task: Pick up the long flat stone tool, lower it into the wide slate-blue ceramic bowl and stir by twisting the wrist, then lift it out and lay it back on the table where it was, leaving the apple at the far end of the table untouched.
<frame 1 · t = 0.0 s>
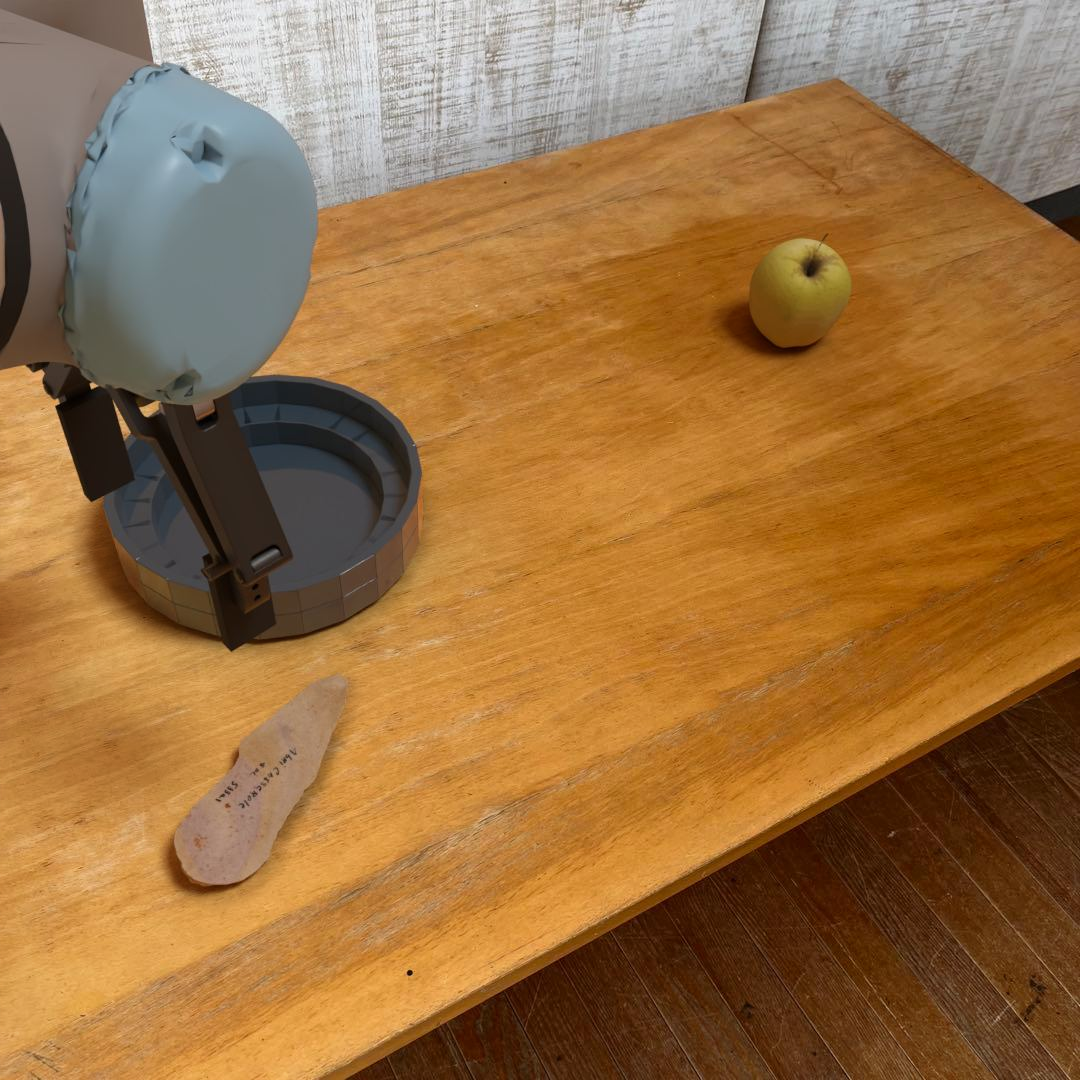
hand: (176, 557, 62), 12 cm above the table, tool pointing down, fingers open, 13 cm apart
bowl: (273, 526, 81), on the table
stone tool: (274, 782, 68), on the table
apple: (787, 336, 99), on the table
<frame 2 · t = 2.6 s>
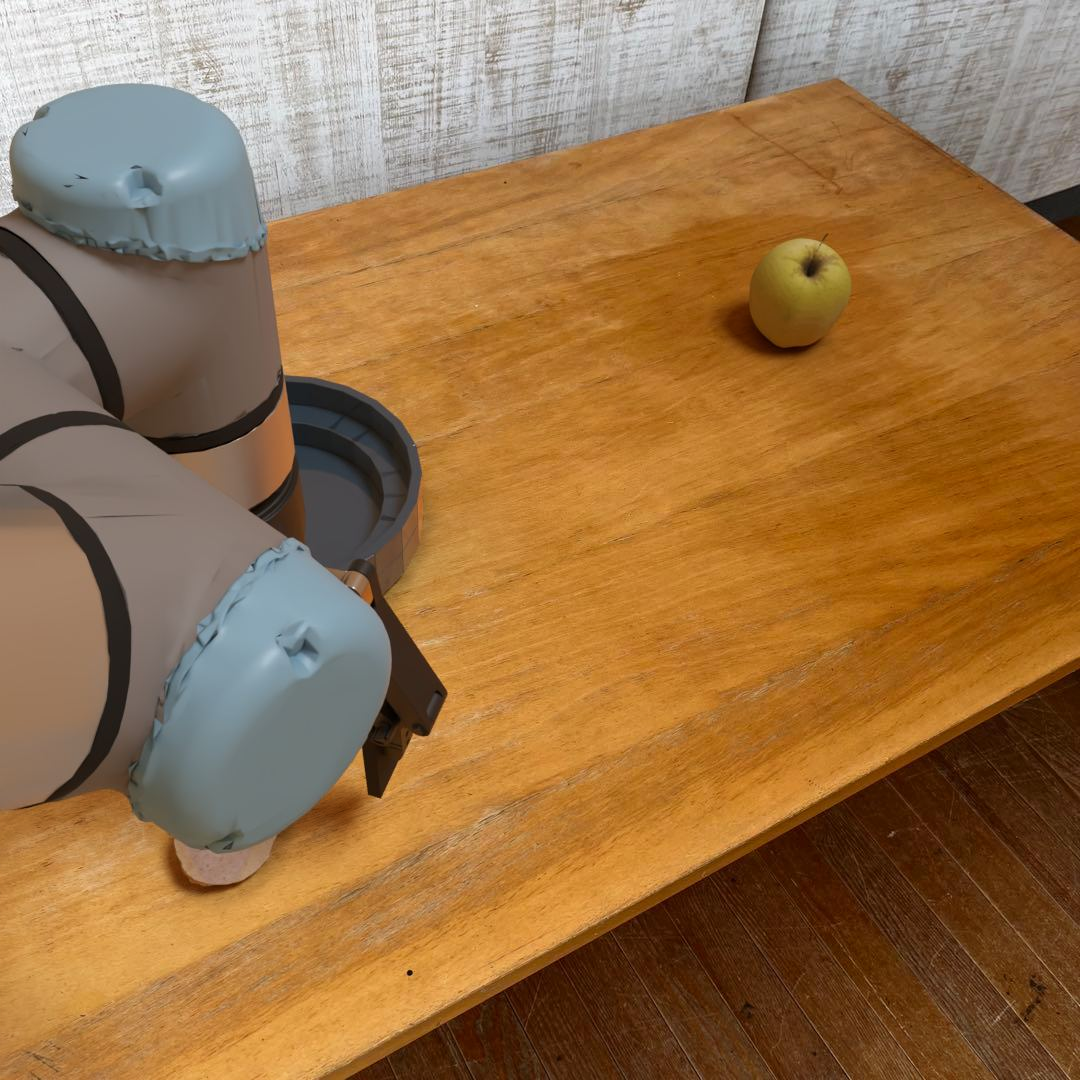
hand: (270, 740, 65), 4 cm above the table, tool pointing down, fingers open, 13 cm apart
nothing on the table moved.
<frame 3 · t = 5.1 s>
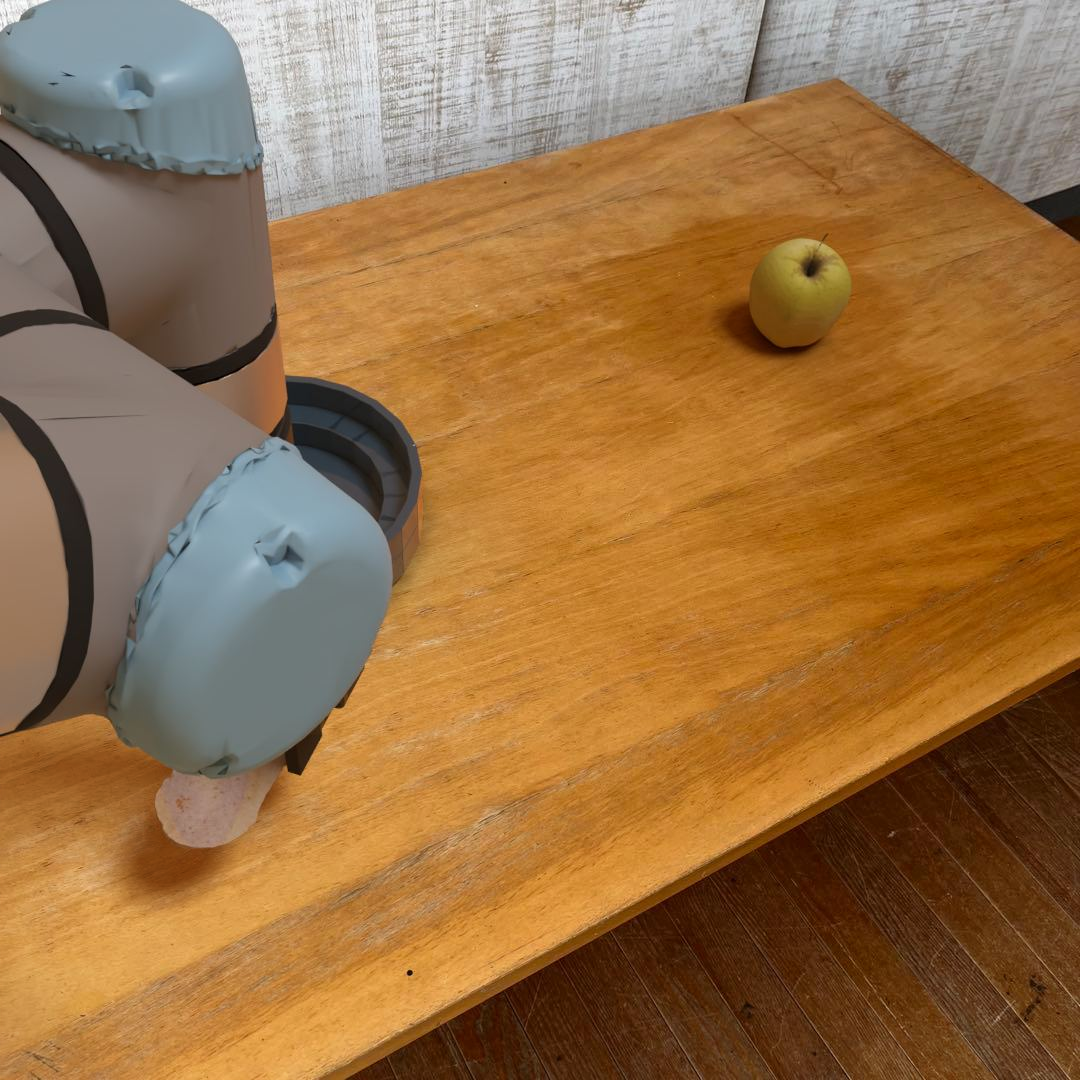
hand: (258, 737, 64), 5 cm above the table, tool pointing down, fingers closed on stone tool, 5 cm apart
stone tool: (262, 744, 64), point 4 cm above the table, touching gripper
everything else where it was.
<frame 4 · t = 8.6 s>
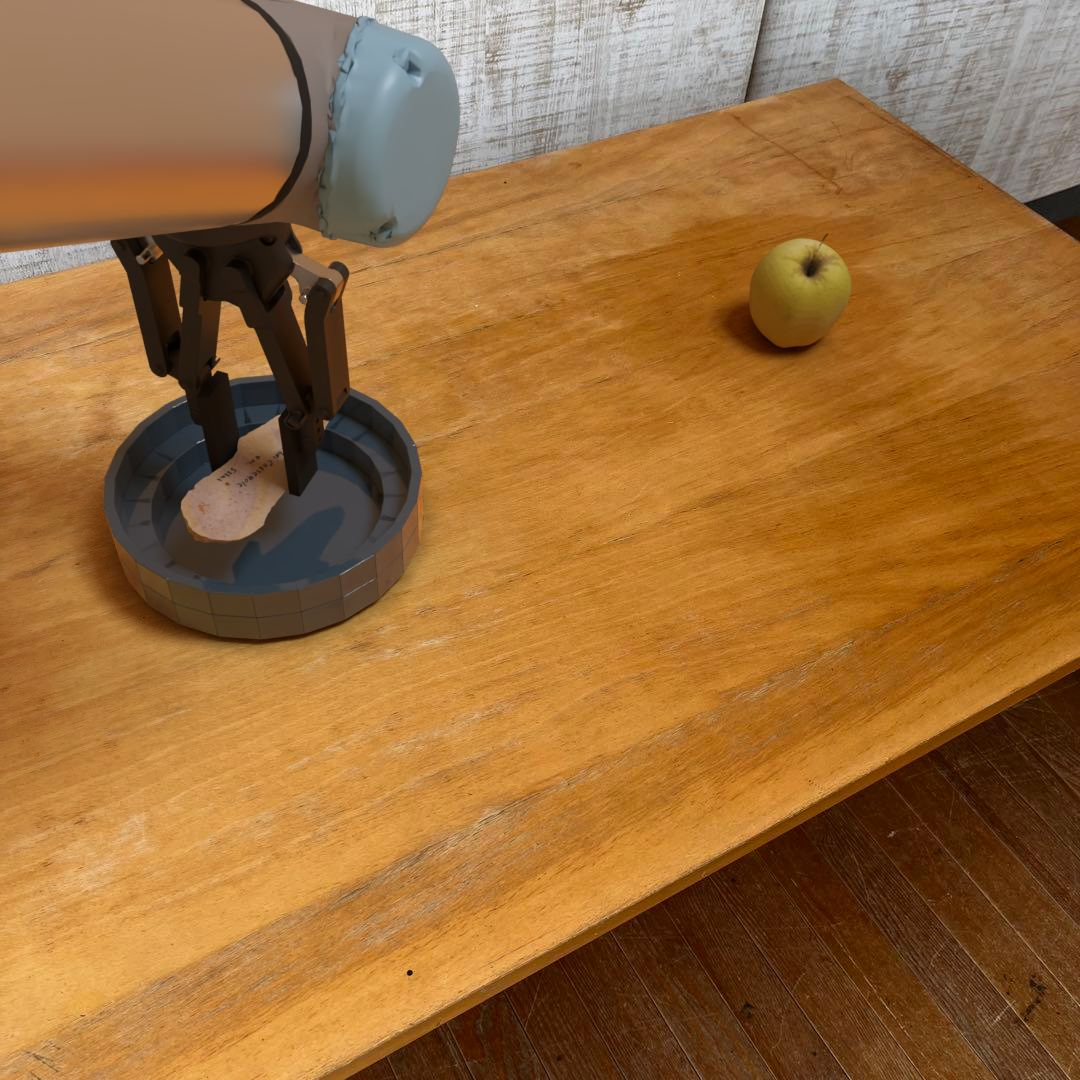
hand: (265, 470, 77), 5 cm above the table, tool pointing down, fingers closed on stone tool, 5 cm apart
stone tool: (268, 476, 77), point 5 cm above the table, touching gripper
everything else where it was.
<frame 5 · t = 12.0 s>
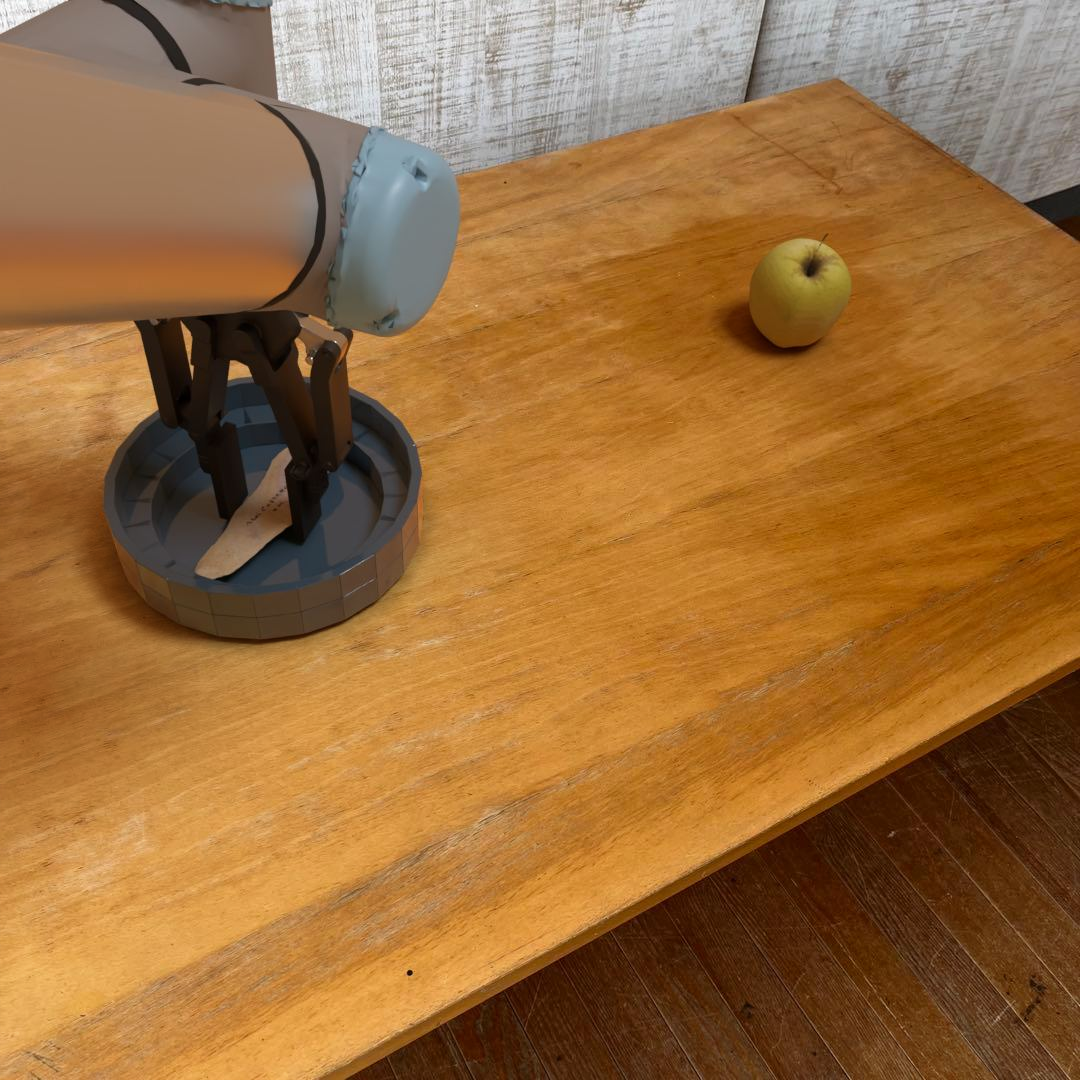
hand: (270, 515, 80), 1 cm above the table, tool pointing down, fingers closed on stone tool, 5 cm apart
stone tool: (269, 519, 80), point 1 cm above the table, touching gripper
everything else where it was.
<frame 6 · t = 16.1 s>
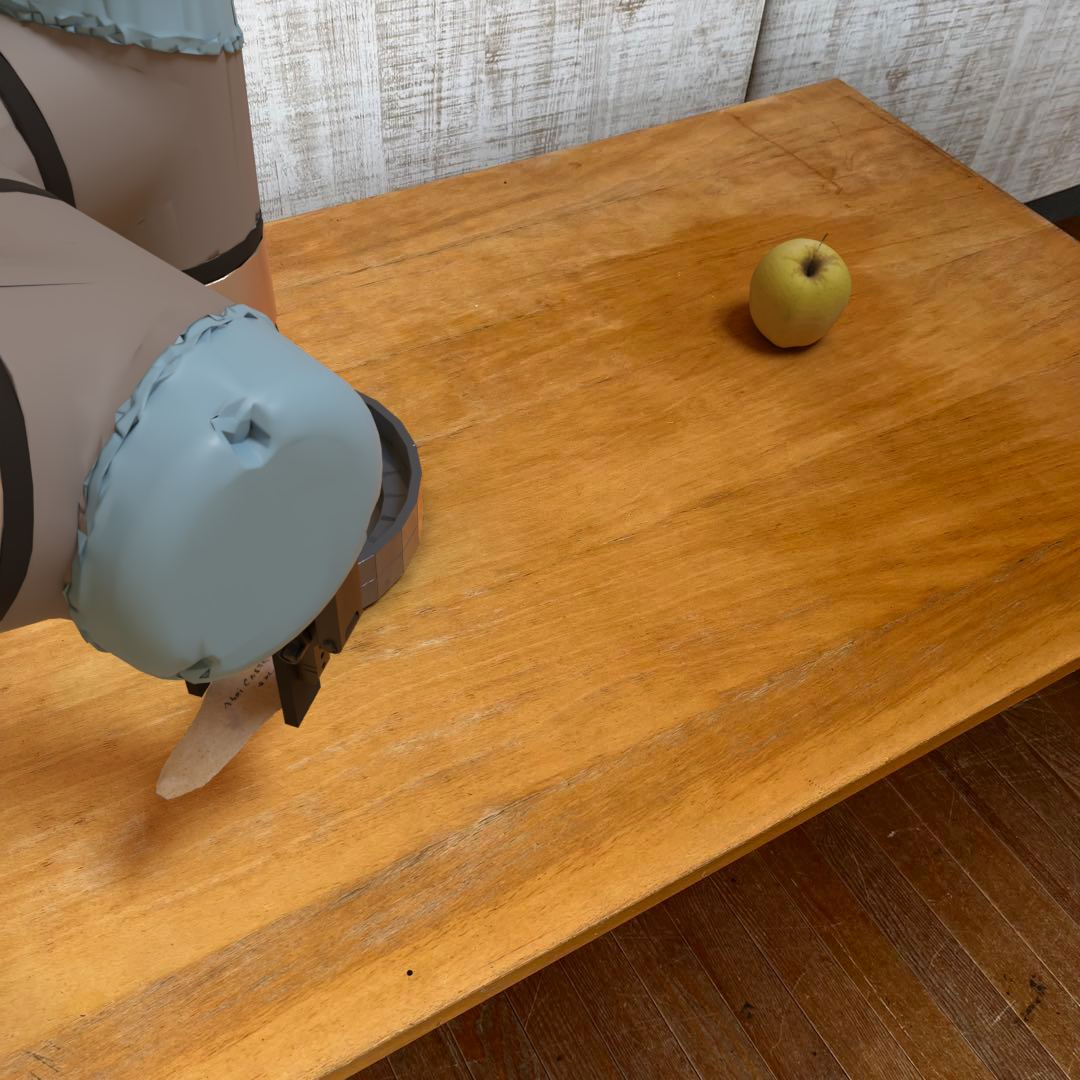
hand: (254, 689, 61), 9 cm above the table, tool pointing down, fingers closed on stone tool, 5 cm apart
stone tool: (254, 692, 62), point 8 cm above the table, touching gripper
everything else where it was.
when the fingers open (0 cm above the table, at t = 19.4 s): stone tool stays where it is, on the table.
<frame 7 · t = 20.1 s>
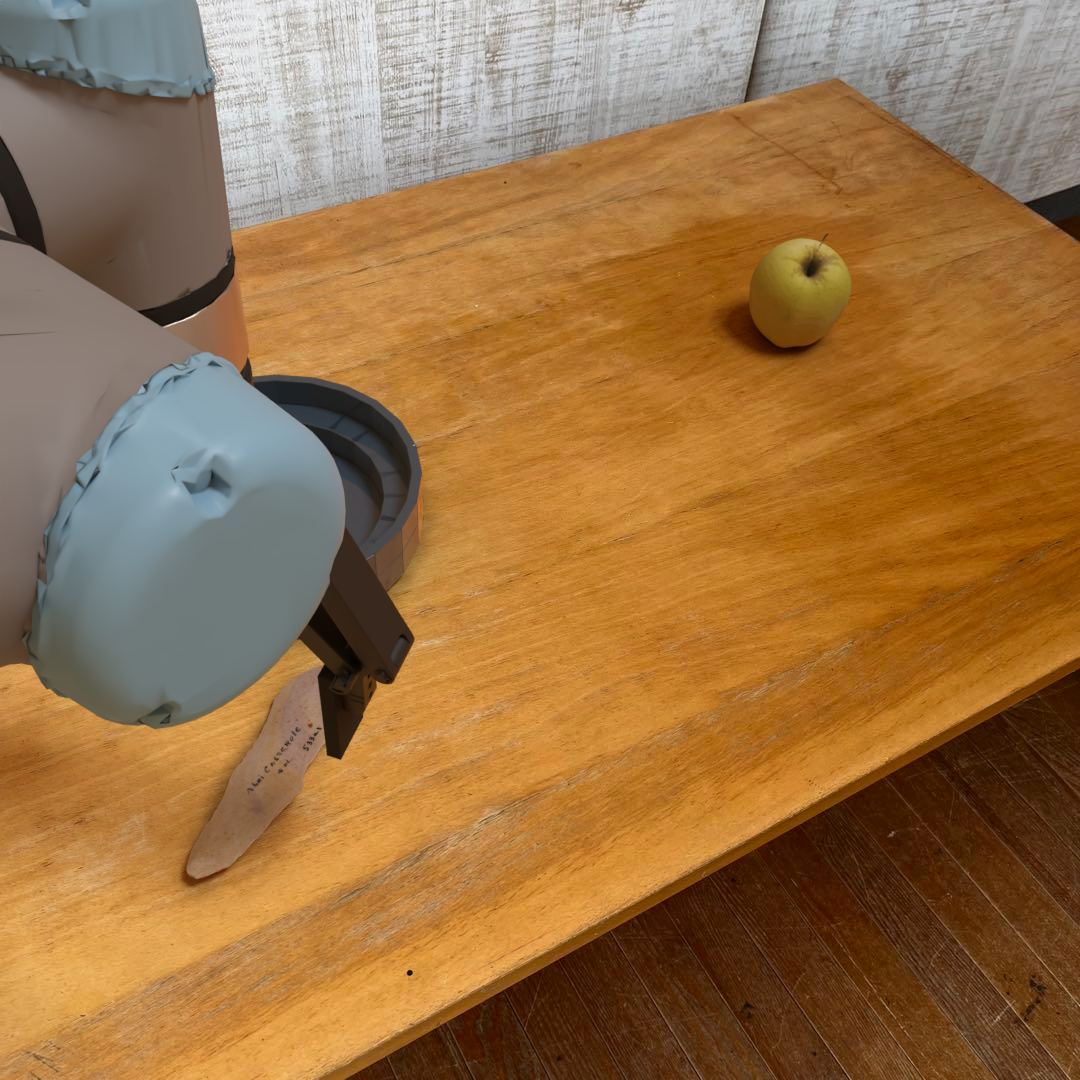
hand: (222, 697, 60), 10 cm above the table, tool pointing down, fingers open, 13 cm apart
stone tool: (273, 778, 68), on the table
everything else where it was.
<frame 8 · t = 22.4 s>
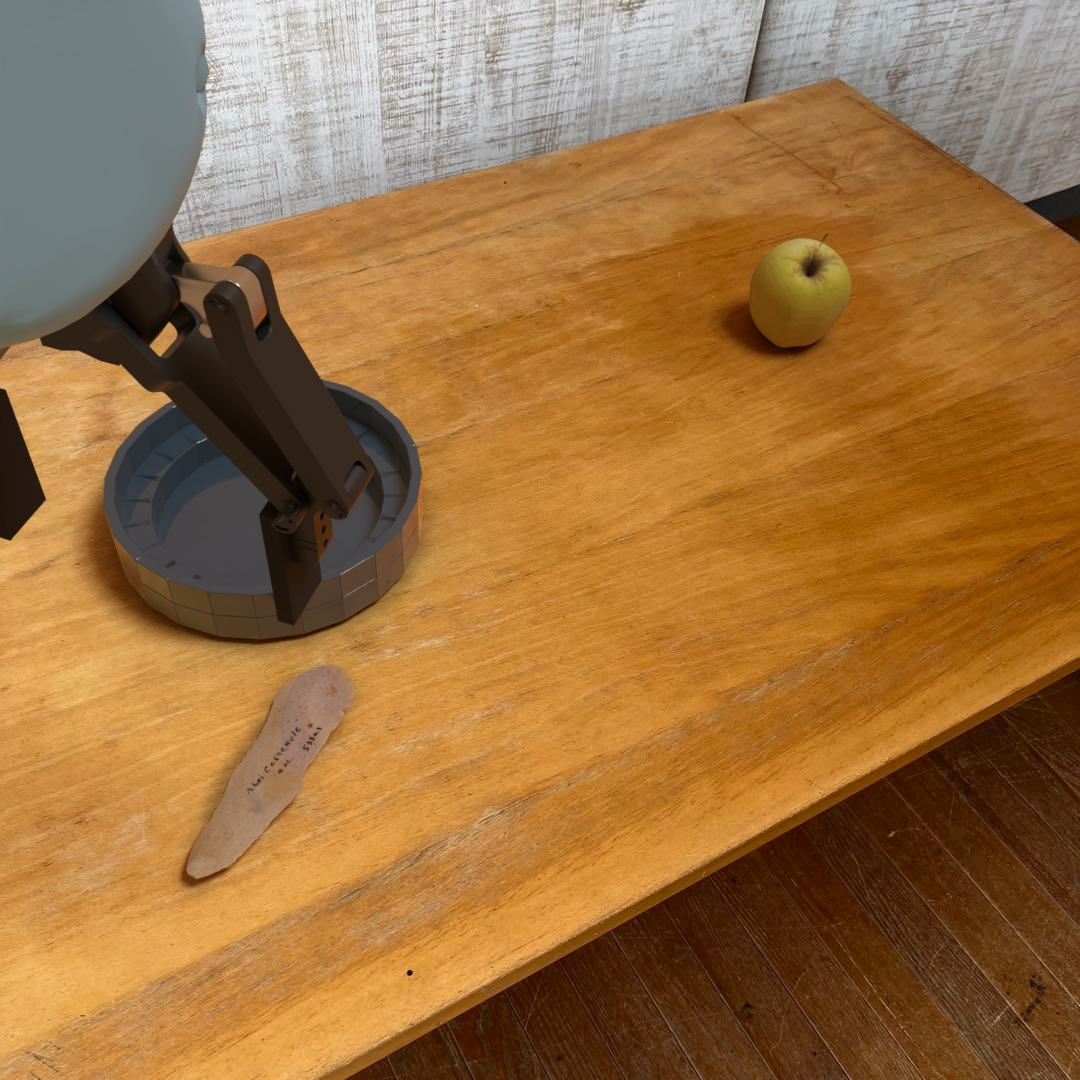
hand: (157, 558, 51), 21 cm above the table, tool pointing down, fingers open, 13 cm apart
nothing on the table moved.
at the end: stone tool inside the target area (0.3 cm from its centre), on the table; the gripper is holding nothing; apple moved 0.2 cm from its start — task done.
